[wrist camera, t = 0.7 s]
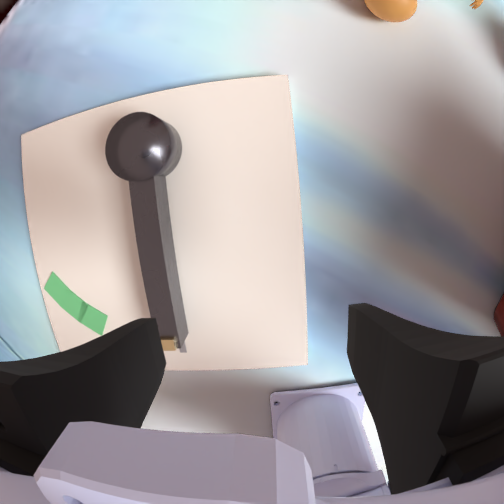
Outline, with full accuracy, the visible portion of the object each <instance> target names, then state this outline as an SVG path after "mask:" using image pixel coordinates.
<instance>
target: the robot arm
mask: <svg viewBox="0 0 504 504" xmlns="http://www.w3.org/2000/svg"><path fill="white" fill-rule="evenodd" d="M347 355H348V358H349V362H350V365H351V369H352V372H353V375H354V377H355V379H356V381H357V383H353V384H347V385H340V386H332V387H324V388H316V389H306V390H296V391H284V392H274V393H272V394H271V395H270V404H271V416H272V428H273V438H270V437H261V436H253V435H246V434H239V433H190V432H173V431H160V430H150V429H141V426H142V423H143V421H144V419H145V417H146V415H147V412H148V410H149V408H150V406H151V404H152V402H153V399H154V397H155V395H156V393H157V391H158V389H159V386H160V384H161V381H162V378H163V374H164V370H165V367H166V359H165V355H164V351H163V347H162V343H161V339H160V334H159V330H158V326H157V321H156V318H140V319H136V320H134V321H131V322H129V323H127V324H125V325H123V326H121V327H118V328H116V329H114V330H112V331H110V332H108V333H106V334H104V335H102V336H100V337H98V338H96V339H93V340H91V341H89V342H87V343H84V344H82V345H79V346H77V347H74V348H71V349H68V350H65V351H62V352H59V353H55V354H51V355H47V356H43V357H38V358H33V359H27V360H19V361H8V362H0V504H504V336H501V337H487V336H469V335H462V334H455V333H449V332H444V331H440V330H436V329H432V328H428V327H425V326H422V325H419V324H416V323H413V322H410V321H408V320H405V319H403V318H400V317H398V316H396V315H393V314H391V313H389V312H386V311H384V310H382V309H380V308H377V307H375V306H373V305H370V304H366V303H361V304H352V305H349V316H348V342H347ZM359 392H361V393H359ZM276 401H278V403H274V402H276ZM365 401H366V403H367V406H368V408H369V410H370V412H371V414H372V417H373V420H374V422H375V425H376V429H377V432H378V436H379V440H380V443H381V447H382V451H383V456H384V460H385V464H386V469H387V474H388V479H389V481H388V486H387V484H386V480H385V477H384V475H383V472H382V470H378V467H377V464H376V461H375V458H374V455H373V452H372V449H371V447H370V444H369V441H368V438H367V435H366V432H365V429H364V426H363V424H362V418H363V412H364V405H365Z"/></svg>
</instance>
